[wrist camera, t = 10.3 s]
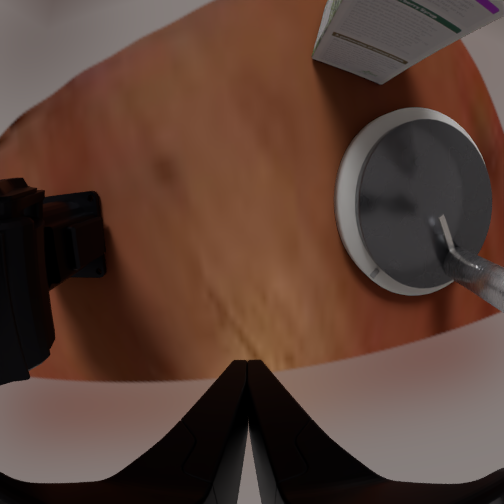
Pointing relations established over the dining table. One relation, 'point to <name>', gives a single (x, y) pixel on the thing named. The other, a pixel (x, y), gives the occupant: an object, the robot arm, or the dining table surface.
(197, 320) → the dining table surface
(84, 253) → the robot arm
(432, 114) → the base
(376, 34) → the syrup box
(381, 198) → the dial
